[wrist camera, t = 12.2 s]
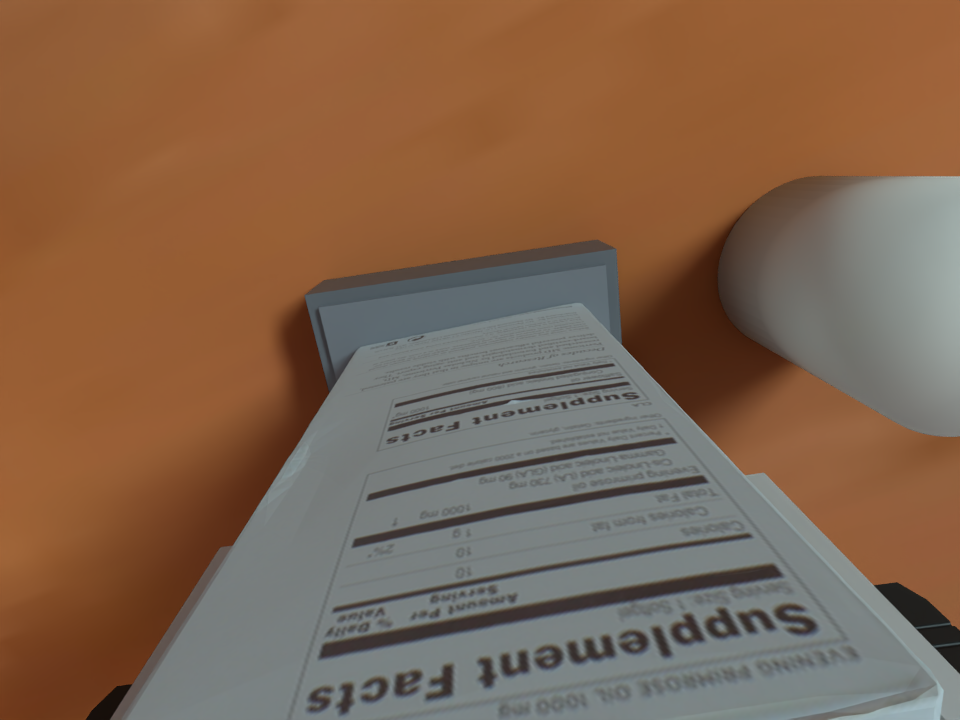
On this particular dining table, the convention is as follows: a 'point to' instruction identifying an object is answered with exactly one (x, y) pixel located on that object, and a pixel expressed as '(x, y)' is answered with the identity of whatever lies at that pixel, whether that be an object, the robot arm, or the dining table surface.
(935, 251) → the white rounded knob
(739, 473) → the supplement box
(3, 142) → the dining table surface
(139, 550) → the dining table surface
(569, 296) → the plate
